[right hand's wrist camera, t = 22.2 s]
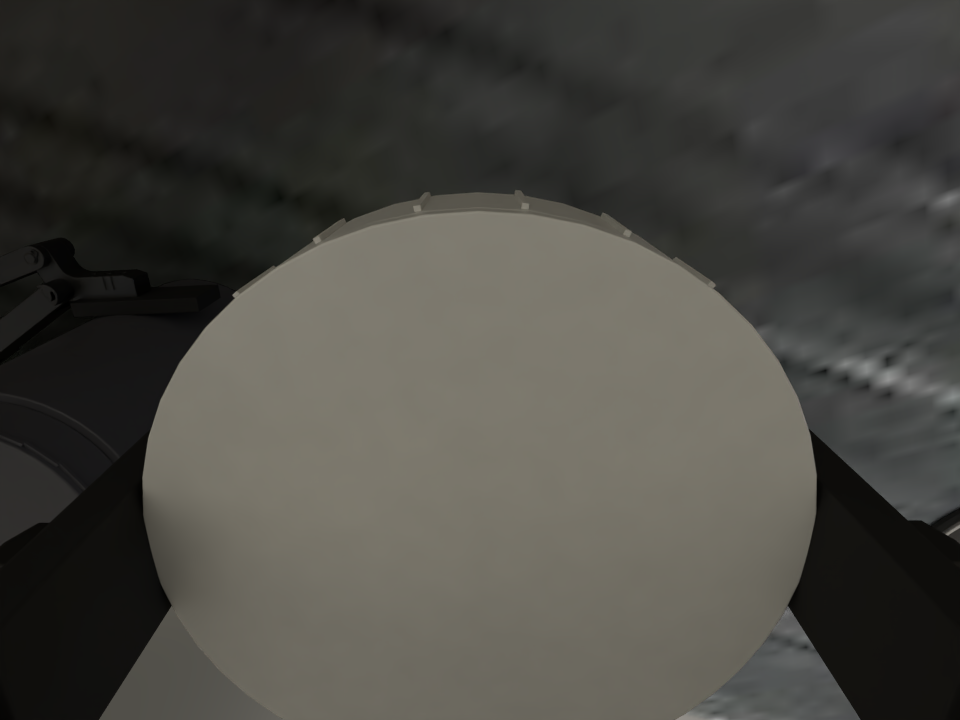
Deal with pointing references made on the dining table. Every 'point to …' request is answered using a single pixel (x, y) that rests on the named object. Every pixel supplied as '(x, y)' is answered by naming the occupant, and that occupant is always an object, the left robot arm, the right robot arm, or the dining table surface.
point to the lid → (479, 474)
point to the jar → (85, 405)
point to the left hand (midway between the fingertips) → (229, 392)
